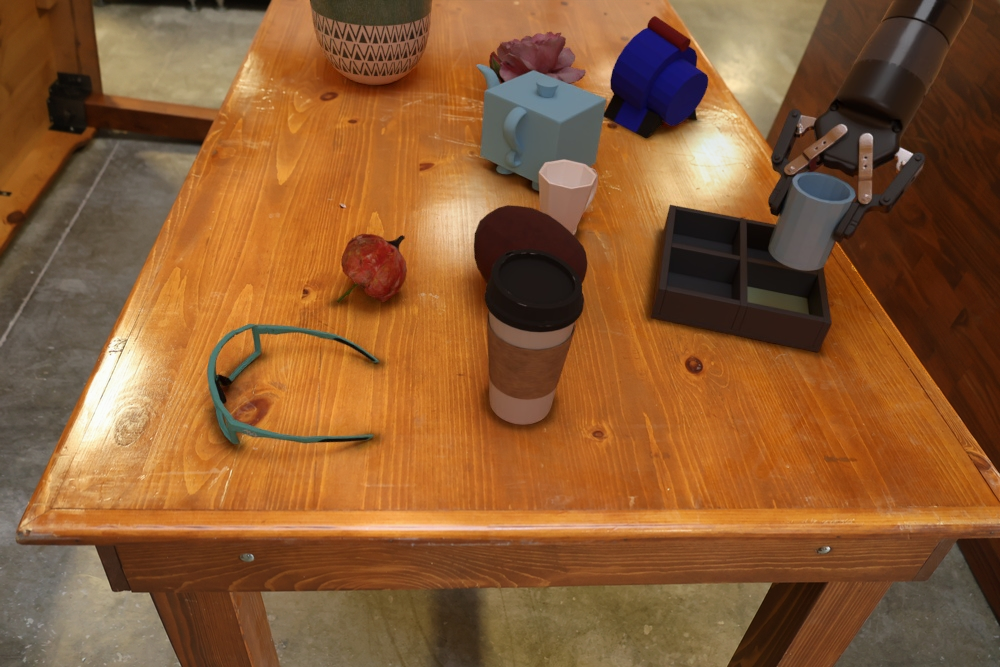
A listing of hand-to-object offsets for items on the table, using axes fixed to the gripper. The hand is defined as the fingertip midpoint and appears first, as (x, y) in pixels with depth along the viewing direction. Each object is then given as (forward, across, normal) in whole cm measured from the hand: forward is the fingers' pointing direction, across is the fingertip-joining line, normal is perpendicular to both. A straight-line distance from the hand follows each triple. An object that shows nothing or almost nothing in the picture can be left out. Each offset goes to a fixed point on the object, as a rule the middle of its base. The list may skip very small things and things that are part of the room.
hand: (805, 225), depth 77 cm
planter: (-1, -76, +19) cm, 78 cm away
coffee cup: (+29, -13, -11) cm, 34 cm away
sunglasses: (+39, -28, -21) cm, 52 cm away
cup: (+9, -27, +9) cm, 30 cm away
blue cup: (+2, 0, +4) cm, 5 cm away
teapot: (+3, -41, +16) cm, 44 cm away
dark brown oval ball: (+20, -22, -2) cm, 30 cm away
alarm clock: (-16, -35, +35) cm, 52 cm away
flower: (-12, -54, +30) cm, 63 cm away
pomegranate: (+28, -35, -9) cm, 46 cm away
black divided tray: (+6, -6, +12) cm, 15 cm away
